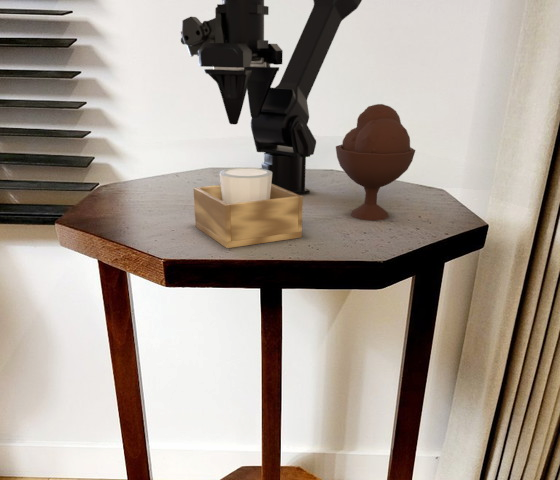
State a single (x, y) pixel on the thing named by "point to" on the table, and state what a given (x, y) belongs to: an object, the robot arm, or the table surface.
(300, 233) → the box
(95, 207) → the table surface
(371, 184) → the ice cream bowl
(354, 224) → the table surface
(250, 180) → the white cup
